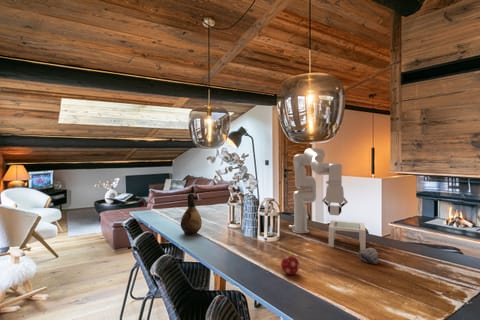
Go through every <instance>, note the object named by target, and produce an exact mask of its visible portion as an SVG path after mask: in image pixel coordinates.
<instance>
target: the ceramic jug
mask: <svg viewBox="0 0 480 320" xmlns="http://www.w3.org/2000/svg"><path fill="white" fill-rule="evenodd" d="M198 201H199V198H198V196H195V195H194V193H192V192H190V193H188V195H187V209H186V210H185V212H184V213H183V215H182V216H181V220H180V228H181V230H182V231H183V234H184V236H187V237H190V236H191V237H193V236H196V235H197V234H198V233H199V231H200V230H201V228H202V224H203V223H202V217H201V214H200V212H199V211H198V209H197V208H196V206H195V202H198Z"/></svg>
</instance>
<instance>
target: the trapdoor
mask: <svg viewBox="0 0 480 320" xmlns="http://www.w3.org/2000/svg"><path fill="white" fill-rule="evenodd" d="M344 222H345V221H344ZM344 222H336V224H335V227H346V228H357V229H359V224H355V223H344Z"/></svg>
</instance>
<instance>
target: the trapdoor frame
mask: <svg viewBox="0 0 480 320" xmlns="http://www.w3.org/2000/svg"><path fill="white" fill-rule="evenodd" d="M336 222H344V223H355V224H359V229H357V228H346V227H335V224H336ZM336 231H340V232H341V231H342V232H350V233H351V232H353V233H358V235H359V236H358V237H359V238H358V239H359V251H361V250H364V249H367V248H366V242H367V241H366V239H367V236H366V233H367V232H366V225H365V223H364V222H353V221H344V220H343V221H342V220H330V221H329V225H328V247H330V248H335V240H336Z"/></svg>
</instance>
